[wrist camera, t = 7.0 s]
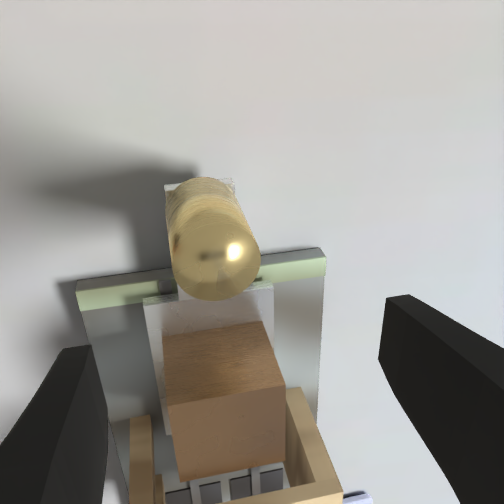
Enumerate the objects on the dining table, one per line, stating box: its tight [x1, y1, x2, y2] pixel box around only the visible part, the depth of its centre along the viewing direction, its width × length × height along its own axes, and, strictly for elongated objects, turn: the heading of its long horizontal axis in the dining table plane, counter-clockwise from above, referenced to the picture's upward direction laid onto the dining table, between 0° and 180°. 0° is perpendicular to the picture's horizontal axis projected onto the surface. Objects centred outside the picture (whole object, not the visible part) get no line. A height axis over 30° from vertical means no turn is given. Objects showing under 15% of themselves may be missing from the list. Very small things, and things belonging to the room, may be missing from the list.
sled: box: [143, 177, 286, 483], centre depth 20 cm, size 13×6×5 cm, turn 2°
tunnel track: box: [75, 248, 343, 504], centre depth 23 cm, size 18×11×7 cm, turn 2°
